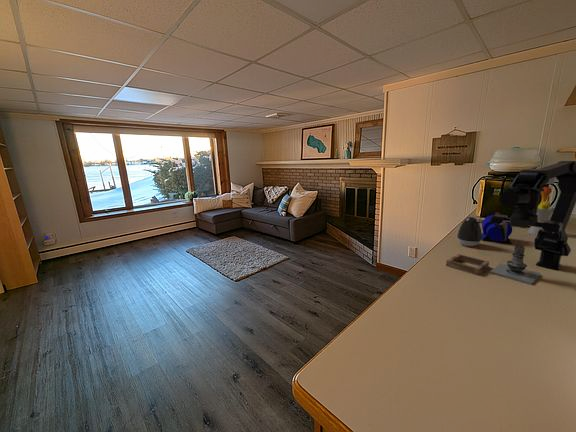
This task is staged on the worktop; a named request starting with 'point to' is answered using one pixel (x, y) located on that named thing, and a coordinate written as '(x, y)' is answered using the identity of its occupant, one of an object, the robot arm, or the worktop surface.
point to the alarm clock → (493, 230)
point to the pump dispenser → (470, 232)
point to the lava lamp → (543, 208)
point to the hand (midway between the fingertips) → (519, 244)
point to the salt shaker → (517, 261)
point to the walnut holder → (454, 264)
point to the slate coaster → (526, 278)
